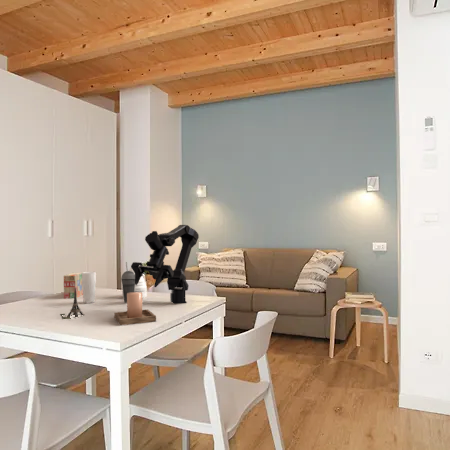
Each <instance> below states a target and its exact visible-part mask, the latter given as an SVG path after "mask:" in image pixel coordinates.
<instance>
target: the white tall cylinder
mask: <svg viewBox="0 0 450 450" xmlns="http://www.w3.org/2000/svg"><path fill="white" fill-rule="evenodd" d="M81 273H82V289H83V295H82V298H83V304H92V303H95V301H96V300H95V299H96V287H97V286H96V285H97V272H96V271H83V272H82V271H81Z"/></svg>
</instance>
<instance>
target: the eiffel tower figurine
mask: <svg viewBox="0 0 450 450" xmlns="http://www.w3.org/2000/svg"><path fill="white" fill-rule="evenodd" d="M74 290H75V293H74V298H73V302H72V303H73V304H72V306H71V307H72V308H71V309H70V311H69V313H68V314H66V313H59V315H60V317H61V318H62V320H63V319H71V318H70V315H71V316H72V315H75V317H78V315H83V316H85V314H84V313H83V311H81V308H80V306H79V304H78V297H76V288H75V289H74ZM78 313H79V314H78ZM65 314H66V315H67V317H63V316H65ZM62 315H63V316H62ZM78 318H79V317H78Z"/></svg>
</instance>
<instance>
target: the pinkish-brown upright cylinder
mask: <svg viewBox="0 0 450 450" xmlns="http://www.w3.org/2000/svg"><path fill="white" fill-rule="evenodd" d="M142 310H143V298H142V292H130V293H127V303H126V311H127V318H136V317H142Z"/></svg>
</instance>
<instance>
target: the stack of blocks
mask: <svg viewBox="0 0 450 450" xmlns="http://www.w3.org/2000/svg"><path fill="white" fill-rule="evenodd" d="M75 288H76V297H77V298H79V297H81V296H83V289H82V272H71V273H68V274H65V275H63V299H74V293H75V290H74V289H75Z"/></svg>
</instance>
